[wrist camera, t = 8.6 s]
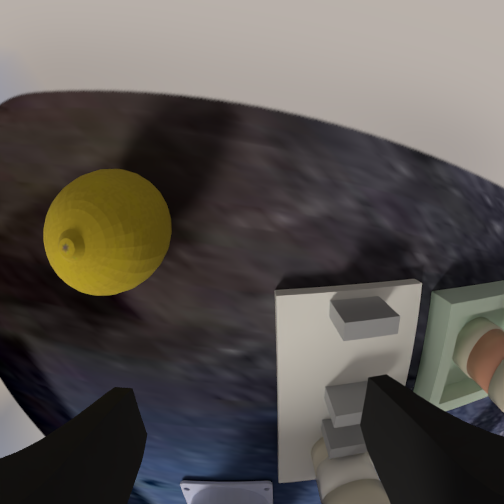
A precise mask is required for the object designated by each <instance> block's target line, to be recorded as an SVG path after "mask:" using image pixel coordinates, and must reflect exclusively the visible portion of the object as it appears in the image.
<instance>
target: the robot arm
mask: <svg viewBox="0 0 504 504" xmlns="http://www.w3.org/2000/svg"><path fill="white" fill-rule="evenodd" d="M360 427H361V430H362V434H363V438H364V441H365V445H366V448H367V451H368V453H369V456H370V458H371V460H372V462H373V465H374V467H375V469H376V472H377V474H378V476H379V478H380V480H381V483H382V485H383V487H384V489H385V492H386V494H387V496H388V498H389V501H390V503H391V504H504V437H503V436H500V435H497V434H494V433H491V432H488V431H486V430H483V429H481V428H478V427H476V426H473V425H471V424H469V423H467V422H464V421H462V420H460V419H459V418H457V417H455V416H453V415H451V414H449V413H447V412H445V411H444V410H442V409H440V408H438V407H437V406H435V405H433V404H432V403H430V402H429V401H427V400H425V399H424V398H422V397H421V396H419V395H418V394H416V393H415V392H413V391H412V390H410V389H408V388H407V387H405V386H404V385H402V384H401V383H399V382H398V381H396V380H395V379H393V378H392V377H390V376H388V375H387V374H385V375H379V376H373V377H368V382H367V389H366V395H365V400H364V406H363V411H362V417H361V422H360ZM146 438H147V432H146V430H145V427H144V424H143V421H142V418H141V415H140V412H139V409H138V405H137V402H136V399H135V396H134V392H133V389H132V388H119V387H115V388H113V389H112V390H110V391H109V392H107V393H106V394H105V395H103V396H102V397H101V398H99V399H98V400H97V401H95V402H94V403H93V404H92V405H90V406H89V407H88V408H86V409H85V410H84V411H82V412H81V413H80V414H78V415H77V416H76V417H74V418H73V419H72V420H70V421H69V422H67V423H66V424H64V425H63V426H61V427H60V428H58V429H57V430H55V431H54V432H52V433H51V434H49V435H48V436H46V437H44V438H43V439H41V440H39V441H38V442H36V443H34V444H32V445H30V446H28V447H26V448H24V449H22V450H20V451H18V452H16V453H13V454H11V455H8V456H5V457H3V458H0V504H127V502H128V500H129V497H130V494H131V491H132V488H133V485H134V482H135V480H136V477H137V474H138V471H139V468H140V465H141V462H142V458H143V454H144V449H145V443H146ZM180 486H181V489H182V491H183V494H184V496H185V499H186V501H187V504H273V485H272V482H271V481H244V482H210V481H187V480H183V481H181V483H180Z"/></svg>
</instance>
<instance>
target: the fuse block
mask: <svg viewBox="0 0 504 504" xmlns="http://www.w3.org/2000/svg"><path fill="white" fill-rule="evenodd" d="M421 289H422V283H421V282H419V281H418V280H416V279H406V280H396V281H385V282H374V283H363V284H351V285H339V286H326V287H313V288H298V289H283V290H275V316H276V355H277V410H278V480H279V483H287V482H297V481H306V480H313V479H316V482H317V486H318V491H319V496H320V500H321V503H322V496H321V491H320V487H319V482H318V478H317V477H316V475H315V471H314V466H313V462H312V457H311V449H312V447H313V445H314V444H315V443H316V442H317V441H318V440H319V439H320V438H322V437H323V438H324V441H325V445H326V449H327V452H328V456H329V459H331V458H338V457H343V456H349V455H354V454H359V453H364V452H368V451H367V448H366V445H365V441H364V438H363V434H362V430H361V427H360V422H361V417H362V411H363V406H364V400H365V395H366V389H367V382H368V377H373V376H379V375H385V374H387V375H388V376H390V377H392V378H393V379H395V380H396V381H398V382H399V383H401V384H402V385H404V386H405V385H406V380H407V376H408V371H409V366H410V362H411V356H412V351H413V346H414V340H415V334H416V328H417V321H418V314H419V306H420V298H421ZM372 463H373V462H372Z"/></svg>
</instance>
